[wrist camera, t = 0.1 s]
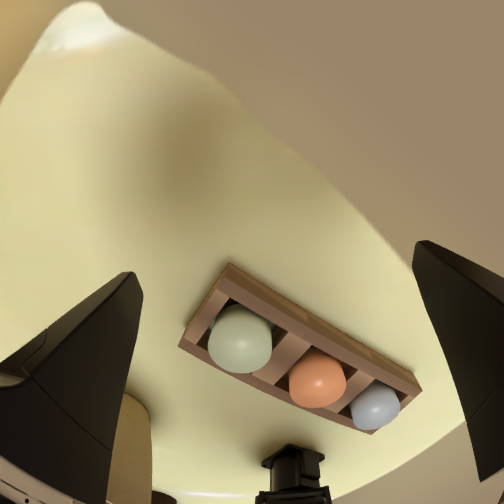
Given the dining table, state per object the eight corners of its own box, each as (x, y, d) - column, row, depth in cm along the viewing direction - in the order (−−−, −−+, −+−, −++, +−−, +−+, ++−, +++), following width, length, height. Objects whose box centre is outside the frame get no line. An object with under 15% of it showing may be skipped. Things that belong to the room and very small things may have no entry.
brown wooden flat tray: (365, 417, 31) (371, 434, 28) (185, 328, 28) (177, 346, 25) (413, 373, 29) (422, 390, 26) (229, 263, 26) (224, 277, 23)
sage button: (250, 360, 27) (249, 382, 24) (203, 334, 26) (197, 354, 23) (283, 323, 25) (284, 343, 23) (232, 293, 25) (228, 311, 22)
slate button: (369, 415, 29) (375, 434, 26) (338, 402, 28) (343, 422, 25) (400, 387, 27) (409, 405, 25) (371, 372, 27) (379, 391, 24)
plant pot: (170, 454, 35) (144, 544, 20) (78, 416, 34) (33, 492, 19) (189, 394, 31) (152, 516, 16) (72, 346, 30) (-2, 436, 15)
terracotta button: (317, 393, 28) (321, 414, 25) (277, 374, 27) (278, 395, 24) (350, 361, 26) (357, 381, 24) (310, 338, 26) (314, 359, 23)
